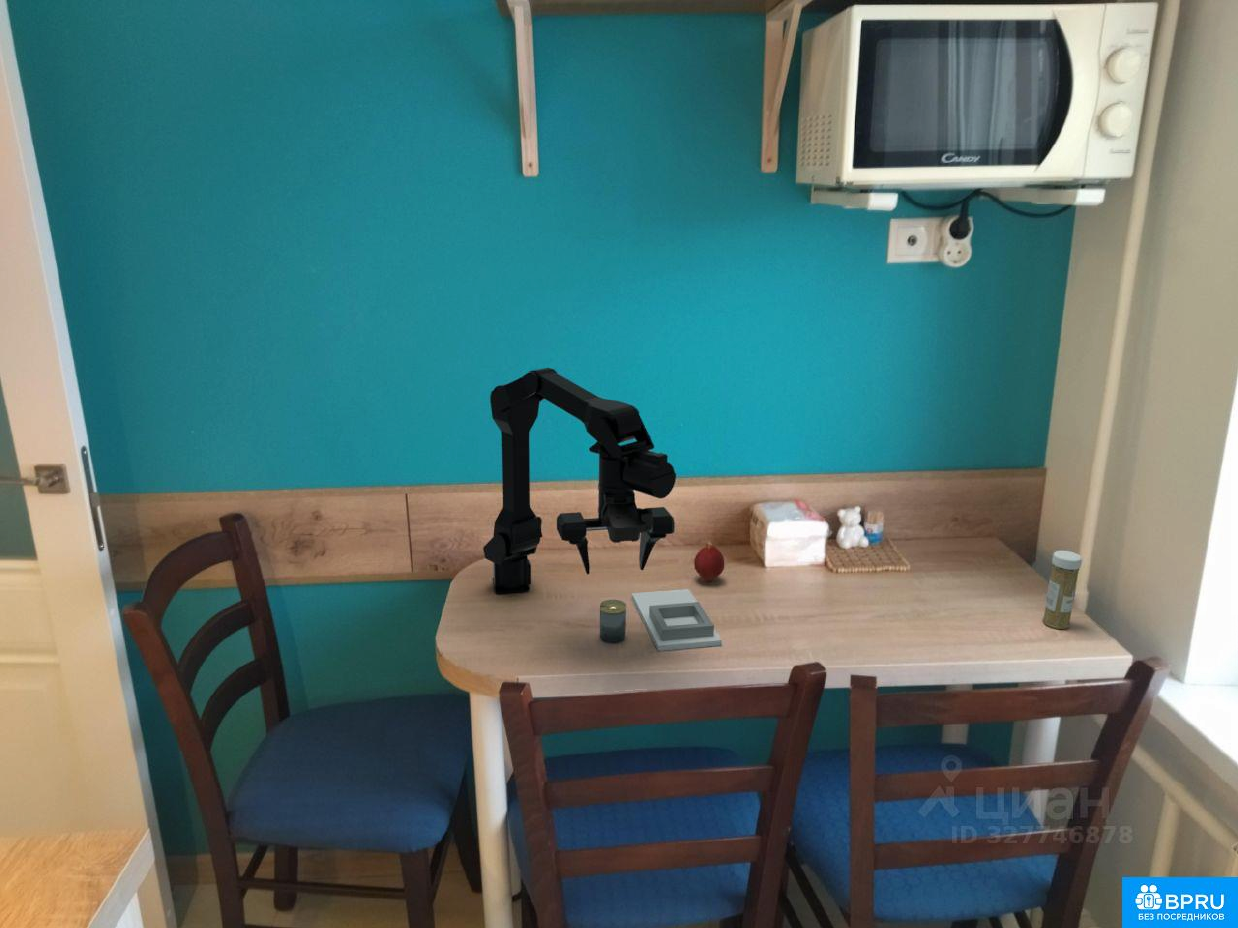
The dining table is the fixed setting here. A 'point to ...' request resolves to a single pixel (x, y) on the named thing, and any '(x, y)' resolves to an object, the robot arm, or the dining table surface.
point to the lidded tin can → (612, 621)
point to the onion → (709, 562)
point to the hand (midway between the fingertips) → (614, 571)
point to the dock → (675, 620)
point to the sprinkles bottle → (1061, 589)
